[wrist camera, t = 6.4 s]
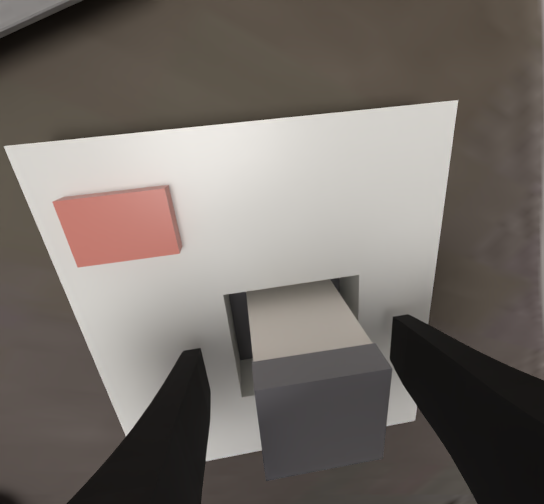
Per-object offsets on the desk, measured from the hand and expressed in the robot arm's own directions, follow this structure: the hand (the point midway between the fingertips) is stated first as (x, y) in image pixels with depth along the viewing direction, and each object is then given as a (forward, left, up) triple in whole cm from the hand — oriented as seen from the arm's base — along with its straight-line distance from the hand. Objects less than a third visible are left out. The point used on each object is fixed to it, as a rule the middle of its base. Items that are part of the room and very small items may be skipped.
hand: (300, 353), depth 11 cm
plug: (0, 0, -3) cm, 3 cm away
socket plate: (+1, +1, -3) cm, 3 cm away
